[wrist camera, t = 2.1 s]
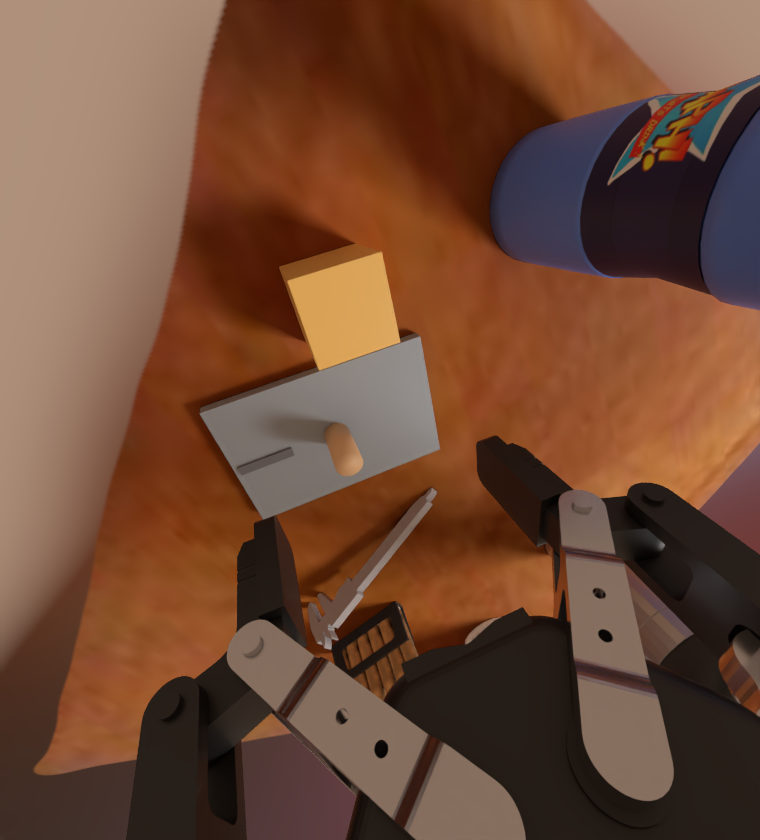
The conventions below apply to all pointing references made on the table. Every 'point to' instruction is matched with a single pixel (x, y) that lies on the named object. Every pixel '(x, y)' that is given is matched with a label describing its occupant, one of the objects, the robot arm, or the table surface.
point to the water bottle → (642, 193)
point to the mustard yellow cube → (342, 303)
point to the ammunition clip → (377, 650)
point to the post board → (327, 426)
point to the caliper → (363, 576)
